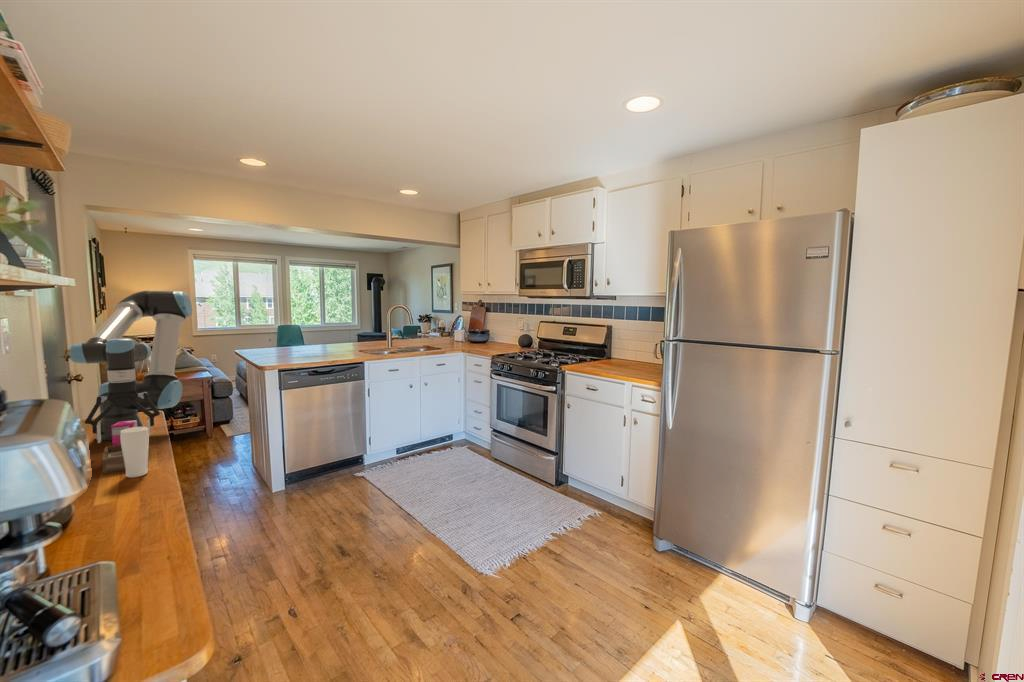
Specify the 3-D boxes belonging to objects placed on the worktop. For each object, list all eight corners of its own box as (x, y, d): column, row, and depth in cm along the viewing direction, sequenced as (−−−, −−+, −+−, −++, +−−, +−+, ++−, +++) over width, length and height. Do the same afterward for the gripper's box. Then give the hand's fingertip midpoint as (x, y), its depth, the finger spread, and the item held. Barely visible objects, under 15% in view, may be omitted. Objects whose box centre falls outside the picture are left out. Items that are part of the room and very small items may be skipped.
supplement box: (120, 451, 160) (118, 421, 159) (140, 449, 162) (138, 419, 161) (112, 456, 154) (110, 425, 153) (132, 454, 156) (130, 423, 156)
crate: (106, 460, 150) (105, 446, 150) (147, 453, 157) (146, 440, 157) (103, 474, 138) (102, 459, 137) (147, 466, 145) (147, 451, 145)
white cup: (122, 481, 133) (119, 433, 132) (123, 474, 138) (120, 428, 137) (150, 475, 137) (148, 429, 136) (151, 469, 142) (148, 425, 141)
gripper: (71, 386, 145) (75, 447, 146) (166, 379, 161) (169, 434, 163) (74, 383, 151) (78, 442, 152) (165, 376, 167) (168, 430, 168)
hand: (125, 438), depth 157 cm, fingers open, 13 cm apart
